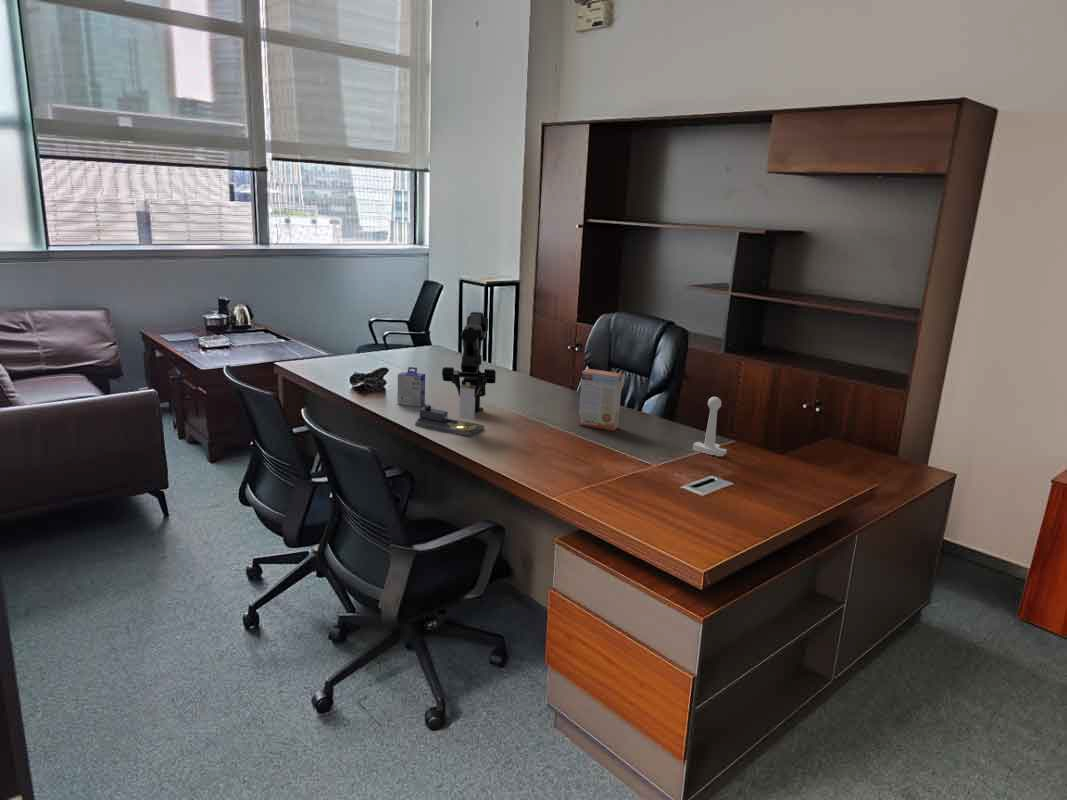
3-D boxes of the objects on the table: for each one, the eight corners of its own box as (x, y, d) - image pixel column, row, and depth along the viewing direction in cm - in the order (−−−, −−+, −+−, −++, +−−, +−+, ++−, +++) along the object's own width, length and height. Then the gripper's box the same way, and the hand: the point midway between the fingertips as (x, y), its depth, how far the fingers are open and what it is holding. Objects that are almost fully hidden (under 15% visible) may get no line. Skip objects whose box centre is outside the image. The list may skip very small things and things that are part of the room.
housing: (460, 414, 261) (461, 380, 258) (474, 414, 262) (475, 381, 258) (459, 418, 257) (460, 384, 253) (473, 419, 257) (474, 384, 253)
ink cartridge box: (425, 403, 291) (426, 367, 287) (420, 407, 286) (421, 371, 282) (402, 400, 293) (402, 365, 289) (396, 404, 288) (397, 368, 284)
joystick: (690, 450, 253) (697, 394, 247) (701, 445, 258) (708, 390, 253) (720, 459, 246) (727, 401, 241) (730, 453, 252) (737, 397, 246)
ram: (424, 416, 269) (425, 403, 267) (448, 421, 265) (448, 408, 263) (419, 419, 265) (419, 406, 264) (443, 423, 262) (443, 410, 260)
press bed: (430, 418, 272) (430, 412, 272) (484, 429, 264) (484, 423, 263) (415, 425, 263) (415, 419, 263) (470, 436, 255) (470, 430, 254)
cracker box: (618, 427, 274) (623, 373, 268) (613, 431, 269) (618, 376, 263) (583, 421, 279) (587, 367, 274) (577, 425, 274) (581, 370, 268)
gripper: (443, 344, 256) (438, 383, 249) (496, 347, 256) (494, 386, 249) (445, 361, 266) (441, 399, 259) (496, 363, 266) (494, 401, 259)
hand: (467, 396), depth 256 cm, fingers closed on housing, 5 cm apart
